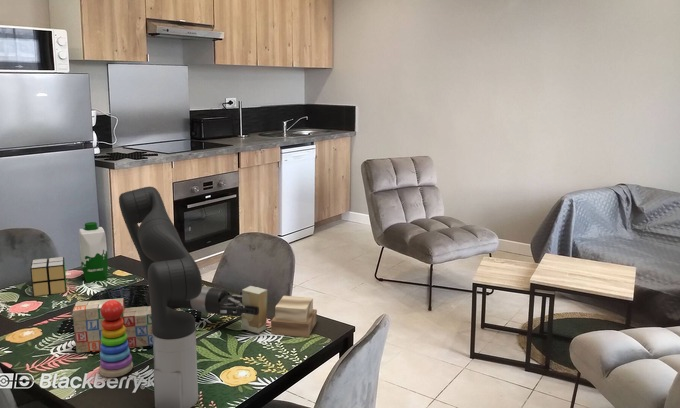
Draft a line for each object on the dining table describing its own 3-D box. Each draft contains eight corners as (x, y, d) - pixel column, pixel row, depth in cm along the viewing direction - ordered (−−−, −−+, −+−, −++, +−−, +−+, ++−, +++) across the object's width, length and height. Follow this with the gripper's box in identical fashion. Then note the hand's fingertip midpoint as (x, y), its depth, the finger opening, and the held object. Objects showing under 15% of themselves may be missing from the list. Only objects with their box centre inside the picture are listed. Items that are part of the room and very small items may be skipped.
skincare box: (240, 329, 168) (240, 289, 165) (249, 324, 171) (249, 285, 169) (259, 334, 165) (259, 293, 162) (267, 328, 169) (267, 289, 166)
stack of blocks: (160, 335, 164) (158, 294, 161) (160, 345, 158) (158, 303, 156) (79, 343, 158) (76, 301, 156) (75, 353, 153) (72, 310, 150)
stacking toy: (94, 370, 144) (88, 299, 140) (125, 359, 149) (120, 291, 145) (107, 382, 138) (101, 309, 134) (138, 371, 144) (134, 300, 140)
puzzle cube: (34, 287, 199) (31, 259, 197) (66, 283, 203) (64, 256, 201) (33, 297, 190) (30, 268, 188) (66, 293, 194) (64, 264, 192)
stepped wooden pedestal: (308, 337, 164) (308, 311, 162) (271, 333, 166) (270, 307, 164) (316, 321, 175) (316, 297, 173) (281, 318, 177) (281, 294, 175)
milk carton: (106, 272, 215) (103, 220, 211) (110, 280, 207) (106, 226, 203) (81, 276, 211) (76, 223, 206) (83, 284, 203) (79, 229, 199)
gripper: (197, 296, 163) (251, 304, 158) (221, 280, 177) (272, 287, 172) (197, 320, 165) (252, 329, 160) (222, 303, 178) (272, 310, 173)
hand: (262, 307), depth 166 cm, fingers closed on skincare box, 5 cm apart
